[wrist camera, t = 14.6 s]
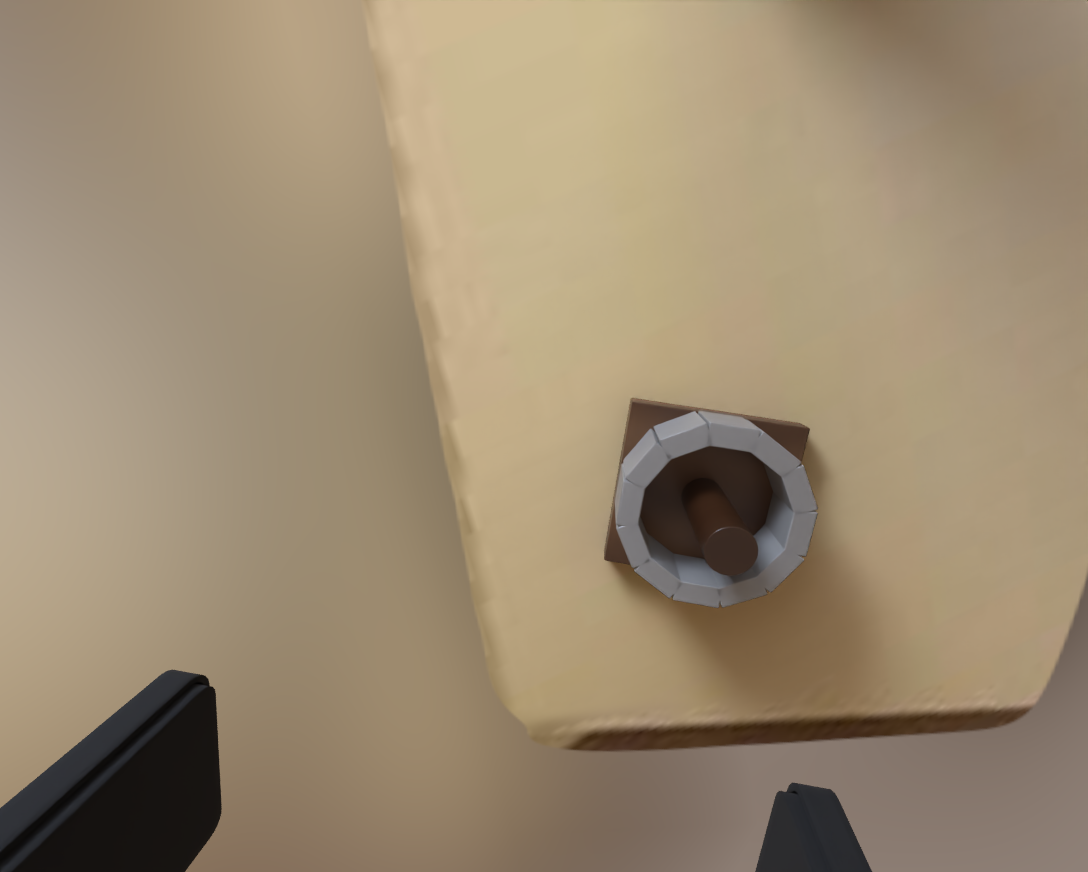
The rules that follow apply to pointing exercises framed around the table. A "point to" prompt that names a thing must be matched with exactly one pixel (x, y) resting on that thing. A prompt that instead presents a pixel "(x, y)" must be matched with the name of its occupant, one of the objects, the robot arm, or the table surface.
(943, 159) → the table surface
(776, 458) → the tape roll
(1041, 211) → the table surface
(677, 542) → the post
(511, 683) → the table surface
